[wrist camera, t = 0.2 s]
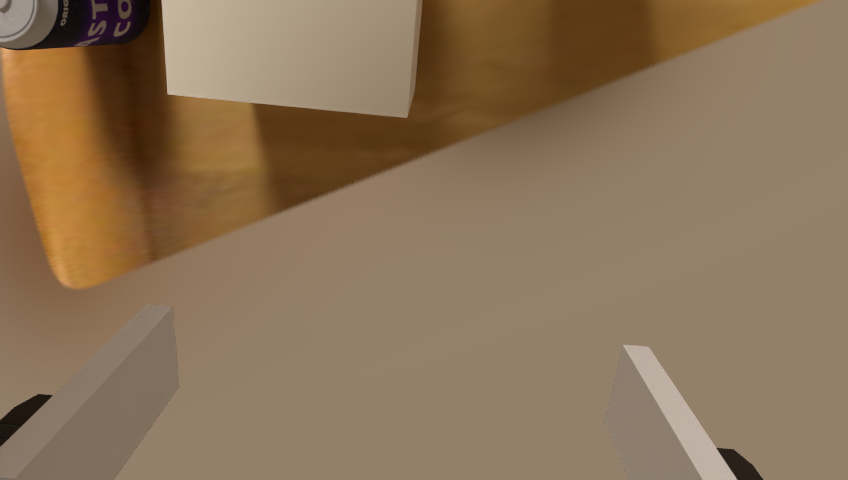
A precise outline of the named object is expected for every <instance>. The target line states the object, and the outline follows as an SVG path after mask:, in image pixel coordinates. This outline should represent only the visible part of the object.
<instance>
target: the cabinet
mask: <svg viewBox="0 0 848 480" xmlns="http://www.w3.org/2000/svg"><path fill="white" fill-rule="evenodd" d="M422 4H423V0H162V14H163V29H164V45H165V61H166V76H167V92H168V95H178V96H189V97H199V98H209V99H219V100H229V101H239V102H249V103H259V104H270V105H280V106H290V107H300V108H310V109H320V110H330V111H340V112H351V113H361V114H371V115H381V116H391V117H401V118H407V117H408V113H409V110H410V106H411V103H412V99H413V95H414V92H415V84H416V72H417V61H418V49H419V38H420V26H421V15H422Z"/></svg>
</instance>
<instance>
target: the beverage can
mask: <svg viewBox="0 0 848 480" xmlns="http://www.w3.org/2000/svg"><path fill="white" fill-rule="evenodd" d="M149 16H150V0H0V47H3V48H6V49H11V50H32V49H48V48H64V47H79V46H95V45H111V44H123V43H127V42H129V41H132V40H133V39H135V38H136V37H138V36H139V35H140V34H141V33H142V32H143V30H144V29H145V27H146V25H147V23H148V20H149Z"/></svg>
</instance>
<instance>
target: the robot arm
mask: <svg viewBox="0 0 848 480" xmlns="http://www.w3.org/2000/svg"><path fill="white" fill-rule="evenodd" d="M178 388H179V377H178V364H177V351H176V338H175V326H174V313H173V307H170V306H158V305H145V306H144V307H143V308H142V309H141V310H140V311H139V312H138V313H137V314H136V315H135V316H134V317H133V318H132V319H131V320H130V321H129V322H128V323H127V324H126V325H125V326H124V327H123V328H122V329H121V330H120V331H119V332H118V333H117V334H116V335H115V336H114V337H113V338H112V339H111V340H110V341H108V343H106V345H105V346H103V347H102V348H101V349H100V350H99V351H98V352H97V353H96V354H95V355H94V356H93V357H92V358H91V359H90V360H89V361H88V362H87V363H86V364H85V365H84V366H83V367H82V368H81V369H80V370H79V371H78V372H77V373H76V374H75V375H74V376H73V377H72V378H71V379H70V380H69V381H68V382H67V383H66V384H65V385H63V386H62V387H61V389H59V390H58V391H57V392H56V393H55V394H54V395H43V394H38V395H36V396H34V397H32V398H30V399H29V400H27V401H25V402H23V403H21V404H20V405H18V406H16V407H14V408H13V409H12V410H11V411H10V412H9V413H8V414H7V415H6V416H5V417H3V418H2V419H1V420H0V480H114V479H115V478H116V476H117V475H118V474H119V472H120V471H121V469H122V468H123V466H124V465H125V464H126V462H127V461H128V459H129V458H130V456H131V455H132V454H133V452H134V451H135V449H136V448H137V446H138V445H139V444H140V442H141V441H142V439H143V438H144V436H145V435H146V433H147V432H148V431H149V429H150V428H151V426H152V425H153V423H154V422H155V421H156V419H157V418H158V416H159V415H160V413H161V412H162V411H163V409H164V408H165V406H166V405H167V404H168V402H169V401H170V399H171V398H172V396H173V395H174V394H175V392H176V391H177V389H178ZM604 423H605V425H606V428H607V430H608V432H609V434H610V437H611V439H612V442H613V444H614V446H615V448H616V451H617V453H618V455H619V458H620V460H621V462H622V465H623V467H624V469H625V472H626V474H627V476H628V479H629V480H763V479H762V477H761V476H760V475H759V473H758V472H757V470H756V469H755V468H754V466H753V465H752V464H751V463H749V462H748V461H747V460H746V459H745V458H743V457H742V456H741V455H740V454H738V453H737V452H736V451H735V450H733V449H723V448H716V447H715V446H714V444H713V443H712V441H711V440H710V438H709V437H708V435H707V434H706V432H705V431H704V429H703V428H702V426H701V425H700V423H699V422H698V420H697V419H696V417H695V416H694V414H693V413H692V411H691V410H690V408H689V407H688V405H687V404H686V402H685V401H684V399H683V398H682V396H681V395H680V393H679V392H678V390H677V389H676V387H675V386H674V384H673V383H672V381H671V380H670V378H669V377H668V375H667V374H666V372H665V371H664V370H663V368H662V366H661V365H660V363H659V362H658V360H657V359H656V357H655V356H654V354H653V353H652V351H651V350H650V348H649V347H644V346H633V345H623V346H622V350H621V354H620V358H619V362H618V366H617V370H616V374H615V379H614V383H613V387H612V391H611V395H610V399H609V403H608V407H607V411H606V416H605V420H604Z"/></svg>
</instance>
